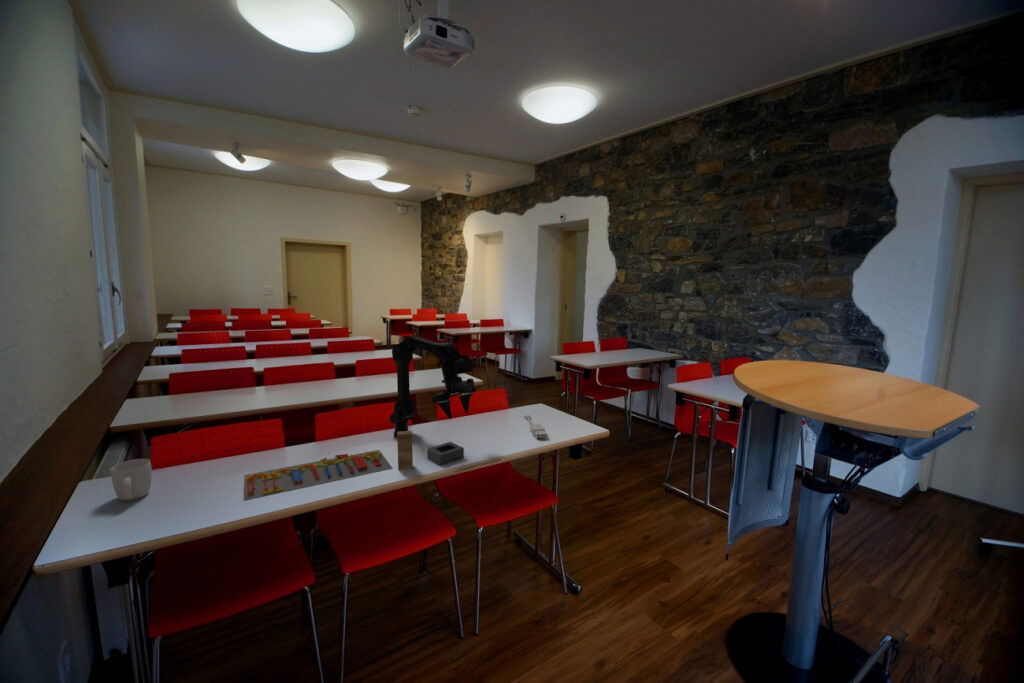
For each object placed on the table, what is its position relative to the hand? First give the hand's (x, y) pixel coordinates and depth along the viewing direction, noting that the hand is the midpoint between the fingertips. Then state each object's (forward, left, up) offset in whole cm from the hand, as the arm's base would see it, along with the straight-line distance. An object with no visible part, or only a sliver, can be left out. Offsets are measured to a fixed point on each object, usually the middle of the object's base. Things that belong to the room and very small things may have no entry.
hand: (459, 415), depth 162 cm
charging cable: (-21, +38, -16) cm, 46 cm away
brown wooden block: (+7, -21, -15) cm, 27 cm away
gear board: (+3, -49, -16) cm, 52 cm away
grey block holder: (+3, -6, -15) cm, 17 cm away
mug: (+8, -101, -16) cm, 102 cm away
